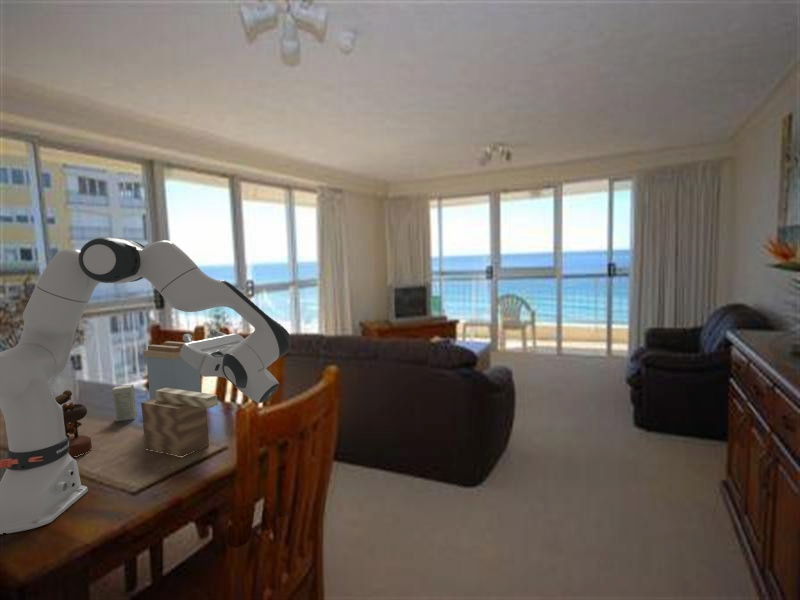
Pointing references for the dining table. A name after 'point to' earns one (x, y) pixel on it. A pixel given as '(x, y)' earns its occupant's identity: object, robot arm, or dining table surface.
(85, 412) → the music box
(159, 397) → the light wood bar
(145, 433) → the brown wood grain block
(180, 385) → the chest
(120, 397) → the skincare box
